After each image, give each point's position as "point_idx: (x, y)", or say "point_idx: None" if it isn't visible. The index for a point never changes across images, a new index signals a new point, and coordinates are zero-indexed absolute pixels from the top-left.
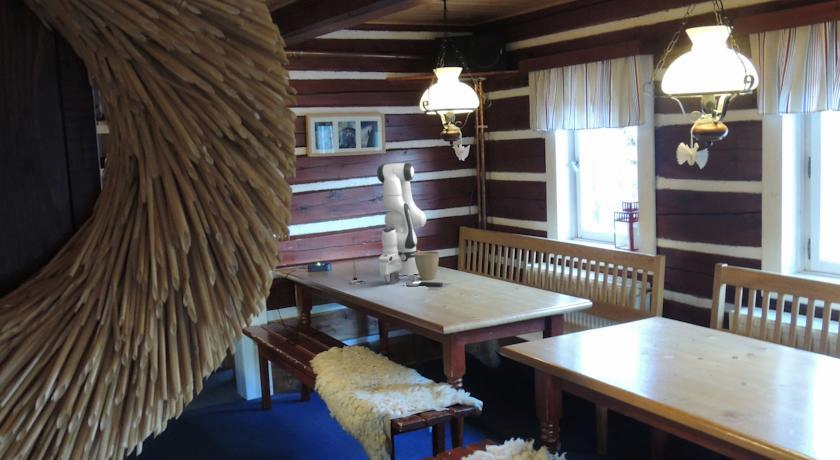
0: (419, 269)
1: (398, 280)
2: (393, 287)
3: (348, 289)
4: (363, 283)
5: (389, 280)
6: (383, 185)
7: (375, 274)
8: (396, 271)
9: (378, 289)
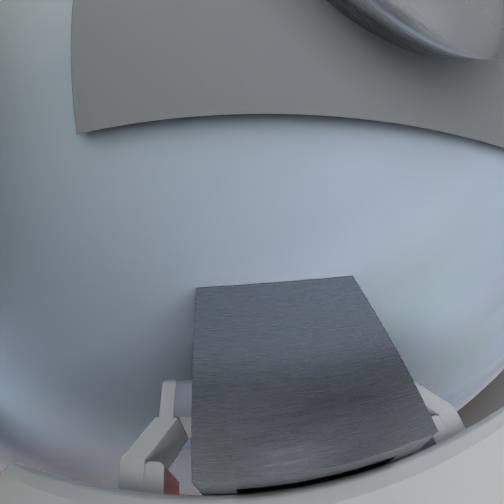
0: None
1: (217, 322)
2: (462, 219)
3: None
4: None
5: None
6: None
7: (55, 466)
8: (220, 491)
9: (497, 300)
